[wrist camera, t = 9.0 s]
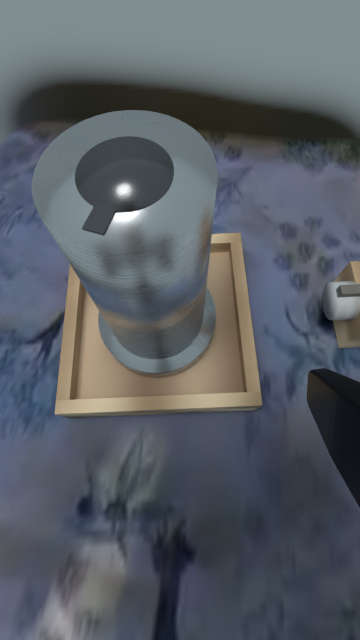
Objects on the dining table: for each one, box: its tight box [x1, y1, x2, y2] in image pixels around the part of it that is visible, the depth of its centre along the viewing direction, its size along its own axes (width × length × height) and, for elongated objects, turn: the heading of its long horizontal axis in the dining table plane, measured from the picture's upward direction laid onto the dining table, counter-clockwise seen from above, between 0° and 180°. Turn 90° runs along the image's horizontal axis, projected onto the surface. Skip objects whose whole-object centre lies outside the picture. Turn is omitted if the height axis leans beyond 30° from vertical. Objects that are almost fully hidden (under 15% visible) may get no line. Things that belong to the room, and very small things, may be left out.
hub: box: [32, 110, 218, 378], centre depth 17 cm, size 8×8×13 cm
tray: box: [55, 233, 262, 418], centre depth 23 cm, size 12×12×2 cm
